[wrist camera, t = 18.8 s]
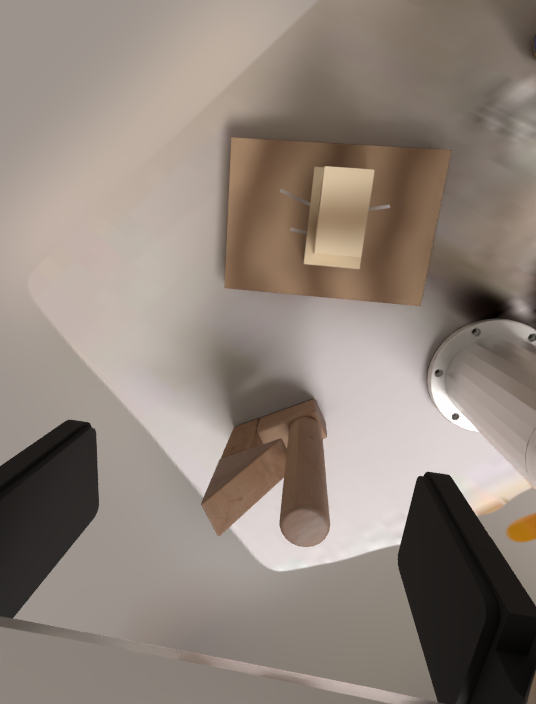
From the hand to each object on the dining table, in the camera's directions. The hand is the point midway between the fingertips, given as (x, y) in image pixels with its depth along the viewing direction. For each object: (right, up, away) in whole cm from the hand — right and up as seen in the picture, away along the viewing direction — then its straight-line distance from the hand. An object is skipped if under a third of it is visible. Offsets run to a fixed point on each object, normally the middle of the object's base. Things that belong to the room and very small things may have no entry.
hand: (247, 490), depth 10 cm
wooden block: (+2, -5, +33) cm, 33 cm away
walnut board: (+7, +17, +26) cm, 32 cm away
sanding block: (+7, +16, +24) cm, 30 cm away
